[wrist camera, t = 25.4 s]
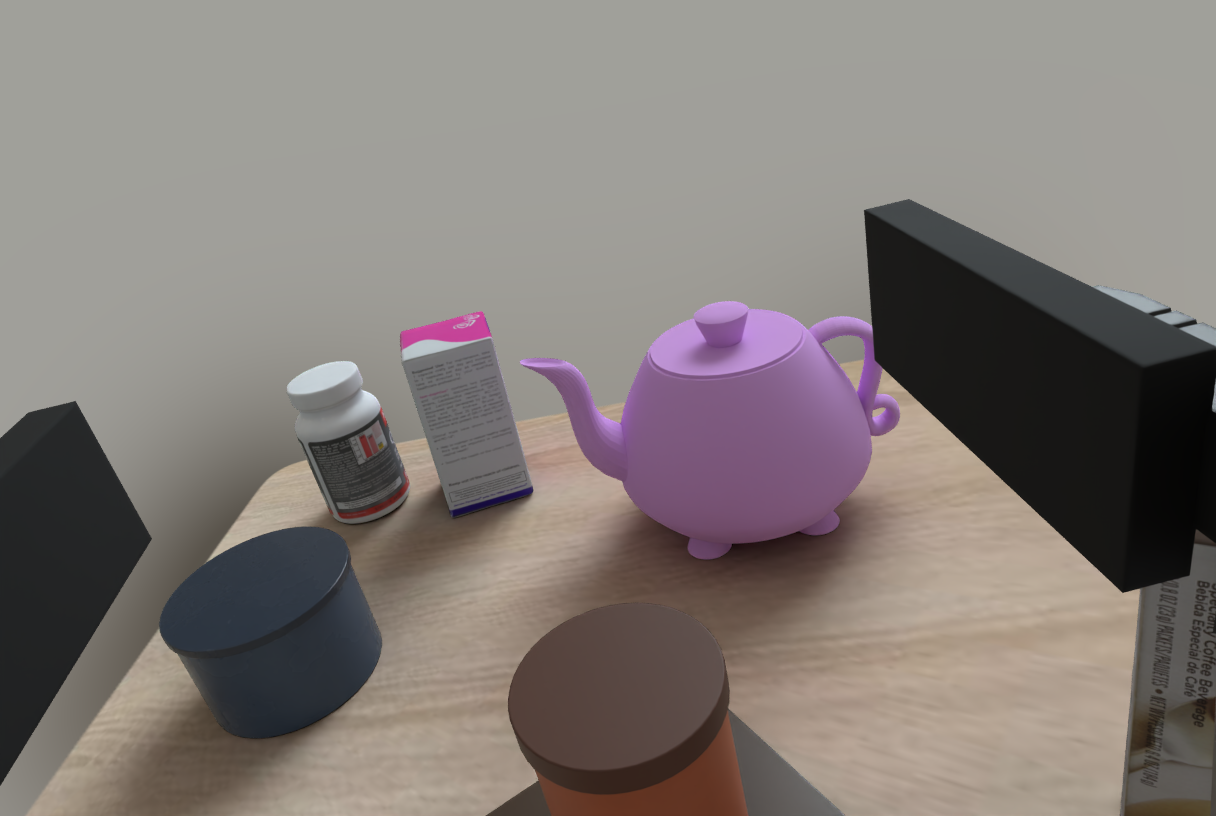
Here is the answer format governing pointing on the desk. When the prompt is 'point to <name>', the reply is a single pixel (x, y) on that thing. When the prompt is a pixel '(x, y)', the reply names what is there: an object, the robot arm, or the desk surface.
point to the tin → (274, 631)
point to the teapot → (736, 426)
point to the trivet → (773, 790)
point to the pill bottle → (347, 443)
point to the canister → (628, 716)
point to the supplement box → (465, 413)
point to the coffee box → (1173, 695)
